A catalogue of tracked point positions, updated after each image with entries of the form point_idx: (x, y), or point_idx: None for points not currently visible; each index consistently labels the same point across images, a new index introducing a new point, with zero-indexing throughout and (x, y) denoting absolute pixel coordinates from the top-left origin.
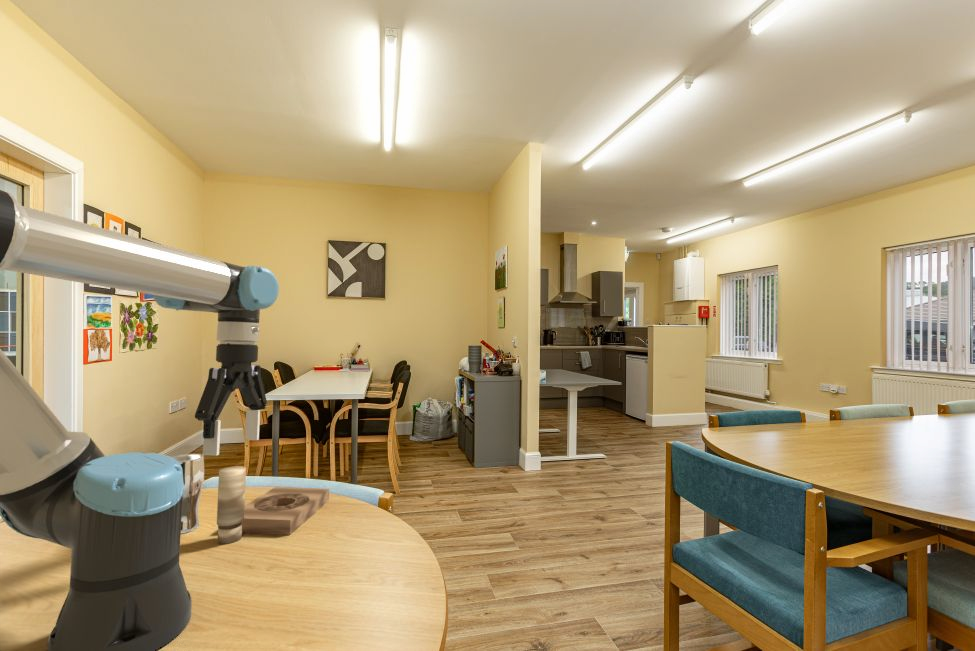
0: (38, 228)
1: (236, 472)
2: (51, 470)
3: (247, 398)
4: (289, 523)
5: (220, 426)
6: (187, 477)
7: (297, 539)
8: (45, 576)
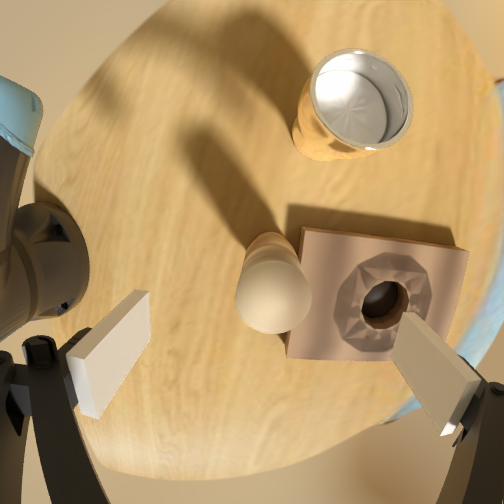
0: None
1: (246, 322)
2: None
3: (467, 456)
4: (286, 353)
5: (110, 400)
6: (312, 135)
7: (266, 360)
8: (147, 54)
